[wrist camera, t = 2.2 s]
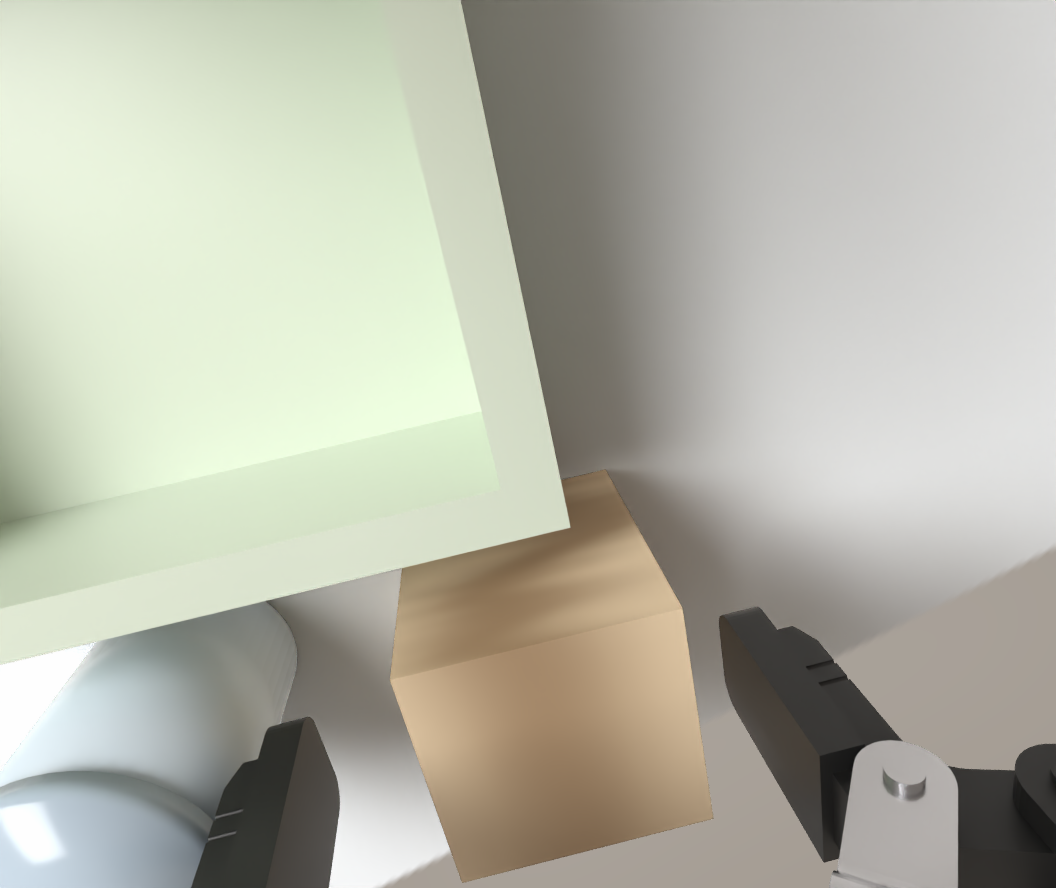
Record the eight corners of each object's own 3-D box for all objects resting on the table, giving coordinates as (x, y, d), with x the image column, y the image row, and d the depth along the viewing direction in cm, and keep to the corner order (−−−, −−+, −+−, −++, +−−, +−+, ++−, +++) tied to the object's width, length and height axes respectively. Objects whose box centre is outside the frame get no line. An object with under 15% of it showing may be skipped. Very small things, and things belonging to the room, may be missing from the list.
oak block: (604, 468, 17) (682, 608, 12) (634, 631, 19) (713, 819, 13) (407, 515, 17) (389, 680, 11) (456, 674, 19) (462, 882, 13)
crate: (380, -282, 12) (337, -592, 7) (534, 428, 16) (570, 527, 12) (-472, -110, 11) (-1127, -316, 6) (-54, 567, 16) (-257, 726, 11)
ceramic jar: (264, 555, 17) (161, 770, 11) (325, 705, 19) (267, 963, 12) (68, 601, 17) (-149, 847, 11) (149, 748, 18) (4, 1031, 12)
